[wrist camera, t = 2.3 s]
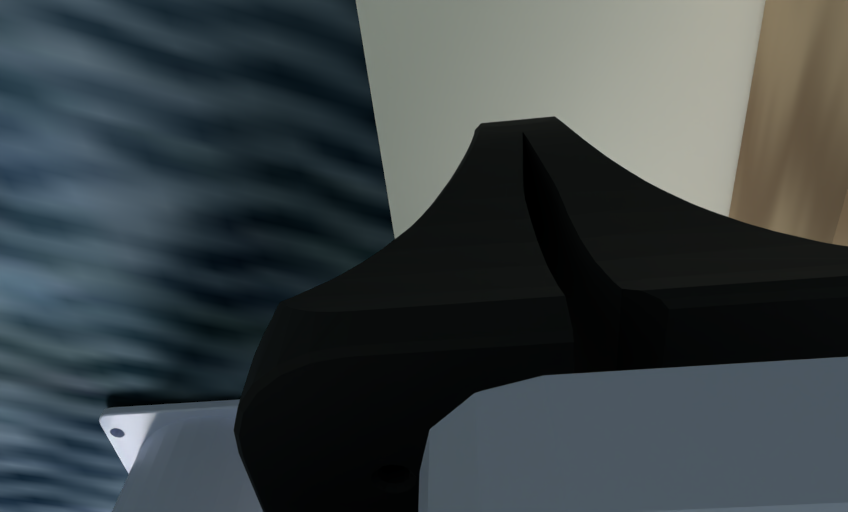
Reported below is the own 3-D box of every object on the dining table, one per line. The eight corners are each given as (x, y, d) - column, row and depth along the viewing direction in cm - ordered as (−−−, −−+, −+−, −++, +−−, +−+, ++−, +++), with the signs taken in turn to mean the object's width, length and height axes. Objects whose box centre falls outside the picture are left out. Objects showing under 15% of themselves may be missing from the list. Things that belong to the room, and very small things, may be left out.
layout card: (1023, 517, 28) (1031, 527, 28) (445, 542, 30) (445, 552, 30) (1545, -269, 13) (1579, -271, 13) (338, -119, 15) (336, -116, 15)
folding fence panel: (754, 266, 20) (833, 392, 16) (719, 268, 20) (789, 394, 16) (834, -116, 14) (989, -70, 10) (784, -110, 14) (918, -62, 10)
